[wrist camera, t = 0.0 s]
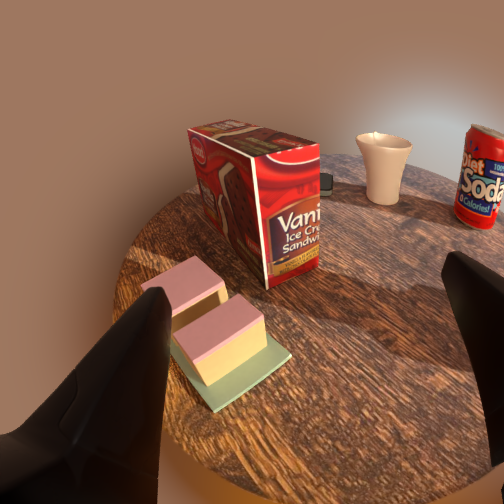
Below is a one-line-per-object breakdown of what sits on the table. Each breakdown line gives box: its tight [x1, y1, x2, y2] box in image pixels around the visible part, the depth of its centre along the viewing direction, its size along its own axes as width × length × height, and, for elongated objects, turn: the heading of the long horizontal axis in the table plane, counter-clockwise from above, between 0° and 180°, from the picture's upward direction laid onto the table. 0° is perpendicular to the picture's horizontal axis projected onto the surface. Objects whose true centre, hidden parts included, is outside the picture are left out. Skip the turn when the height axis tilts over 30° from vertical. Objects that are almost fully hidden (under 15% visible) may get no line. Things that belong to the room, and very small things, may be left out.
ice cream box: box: [187, 120, 320, 290], centre depth 32 cm, size 20×6×13 cm, turn 26°
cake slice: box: [173, 294, 267, 387], centre depth 20 cm, size 6×3×4 cm, turn 128°
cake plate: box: [171, 298, 292, 413], centre depth 23 cm, size 8×12×1 cm, turn 38°
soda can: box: [453, 124, 504, 230], centre depth 28 cm, size 8×8×15 cm
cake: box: [140, 255, 229, 346], centre depth 24 cm, size 6×5×4 cm
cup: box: [356, 131, 412, 205], centre depth 38 cm, size 9×9×10 cm
